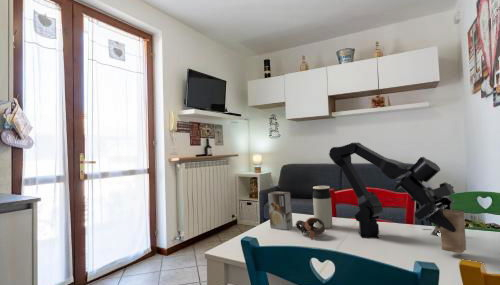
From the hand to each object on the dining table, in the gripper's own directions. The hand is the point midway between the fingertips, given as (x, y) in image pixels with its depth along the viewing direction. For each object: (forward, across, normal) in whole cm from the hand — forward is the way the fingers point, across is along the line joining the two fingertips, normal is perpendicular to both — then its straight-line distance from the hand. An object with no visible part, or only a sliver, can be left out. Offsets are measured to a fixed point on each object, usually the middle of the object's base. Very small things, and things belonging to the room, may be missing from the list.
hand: (457, 229), depth 87 cm
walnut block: (+4, 0, +6) cm, 7 cm away
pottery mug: (-27, -15, +40) cm, 50 cm away
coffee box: (-39, -15, +52) cm, 67 cm away
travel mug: (-30, -1, +42) cm, 52 cm away
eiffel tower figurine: (-1, +20, +14) cm, 25 cm away
